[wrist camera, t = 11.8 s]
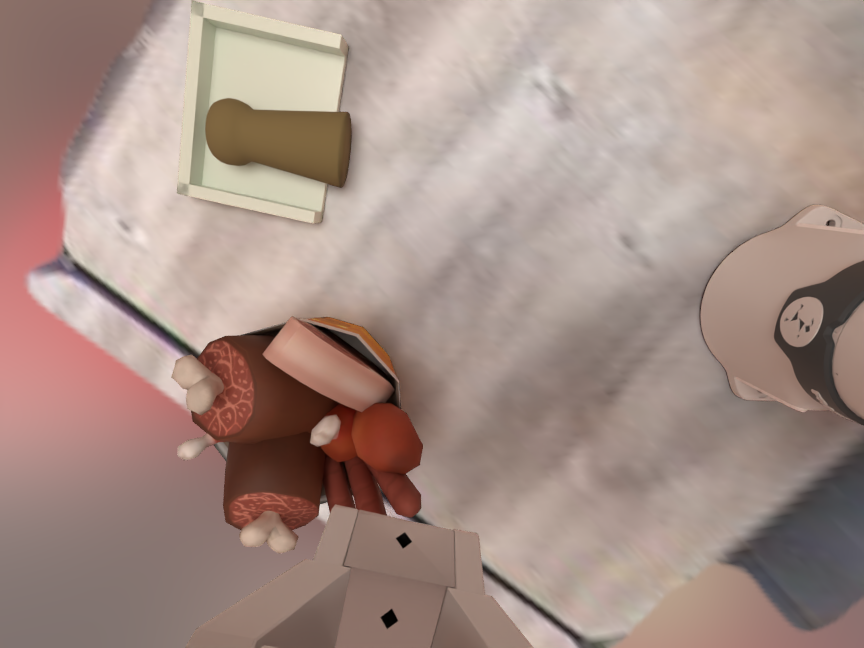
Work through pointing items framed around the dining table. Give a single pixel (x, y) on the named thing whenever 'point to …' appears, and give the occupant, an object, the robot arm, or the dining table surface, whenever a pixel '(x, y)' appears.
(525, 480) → the dining table surface
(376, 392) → the bucket of meat
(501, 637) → the robot arm
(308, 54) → the tray
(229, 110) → the brown chess pawn
